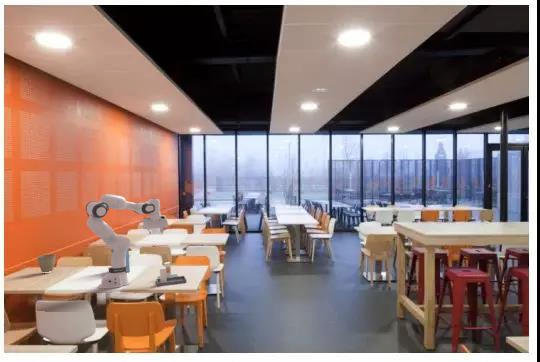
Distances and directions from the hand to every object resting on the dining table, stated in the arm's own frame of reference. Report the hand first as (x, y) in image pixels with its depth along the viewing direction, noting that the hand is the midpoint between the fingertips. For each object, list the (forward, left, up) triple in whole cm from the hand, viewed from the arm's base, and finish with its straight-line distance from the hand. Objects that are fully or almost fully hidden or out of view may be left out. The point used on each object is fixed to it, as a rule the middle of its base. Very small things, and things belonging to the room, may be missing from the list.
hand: (155, 233), depth 326 cm
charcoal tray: (+9, -24, -37) cm, 45 cm away
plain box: (+3, -24, -37) cm, 44 cm away
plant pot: (-94, +66, -37) cm, 121 cm away
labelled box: (+8, -7, -37) cm, 38 cm away
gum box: (-30, +38, -37) cm, 61 cm away
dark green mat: (+8, -7, -37) cm, 39 cm away
